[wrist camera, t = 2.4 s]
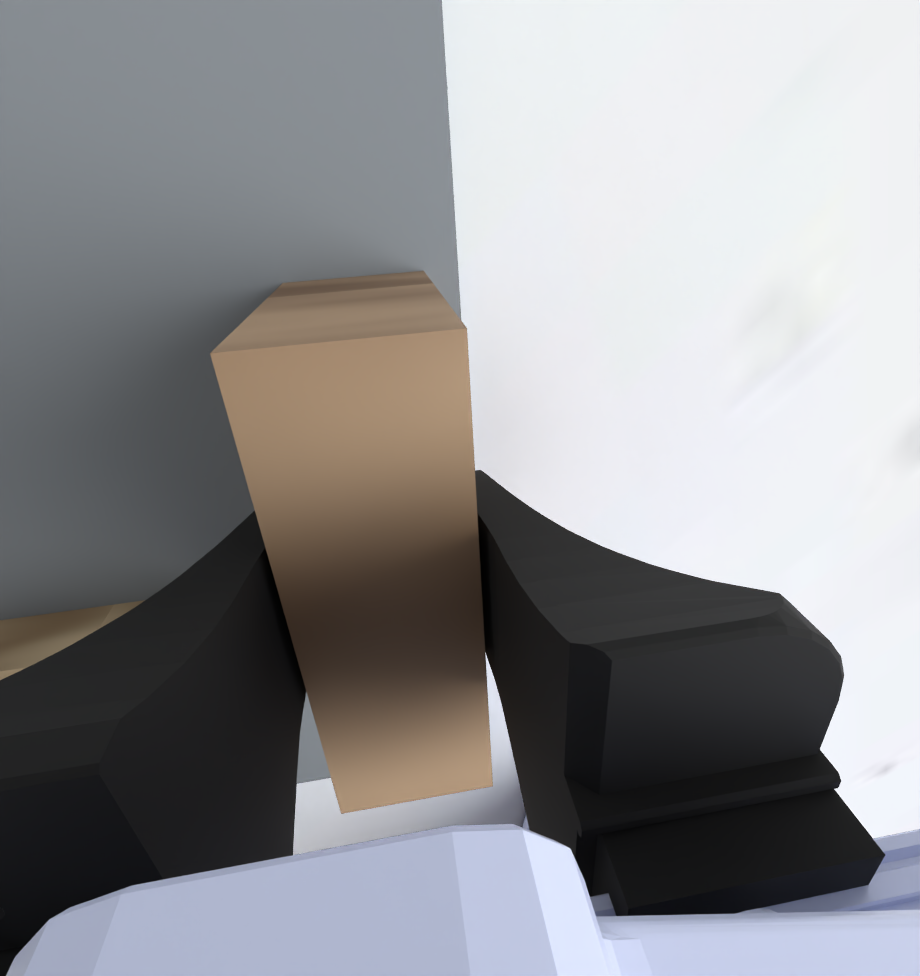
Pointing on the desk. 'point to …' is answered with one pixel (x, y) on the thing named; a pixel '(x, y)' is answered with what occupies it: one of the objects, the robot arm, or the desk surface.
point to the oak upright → (50, 634)
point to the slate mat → (185, 255)
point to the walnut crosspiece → (370, 523)
